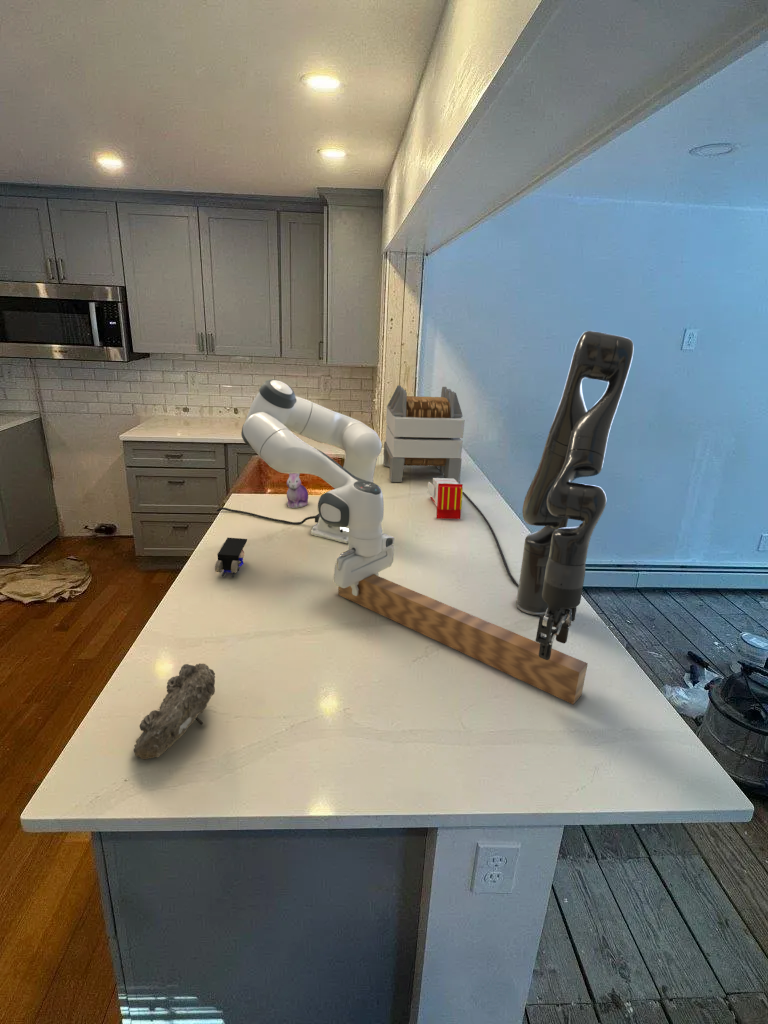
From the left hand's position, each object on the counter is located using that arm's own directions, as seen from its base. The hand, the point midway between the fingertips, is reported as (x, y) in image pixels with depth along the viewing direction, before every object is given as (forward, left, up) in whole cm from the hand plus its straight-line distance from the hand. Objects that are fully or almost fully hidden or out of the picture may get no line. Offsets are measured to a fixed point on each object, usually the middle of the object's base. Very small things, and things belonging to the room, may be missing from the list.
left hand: (363, 590), depth 152 cm
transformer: (-13, +130, -3) cm, 131 cm away
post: (+24, -11, -3) cm, 26 cm away
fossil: (-17, -56, -3) cm, 59 cm away
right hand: (+48, -22, +6) cm, 53 cm away
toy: (+7, +85, -3) cm, 85 cm away
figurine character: (-42, +4, -3) cm, 42 cm away
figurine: (-48, +65, -3) cm, 81 cm away
